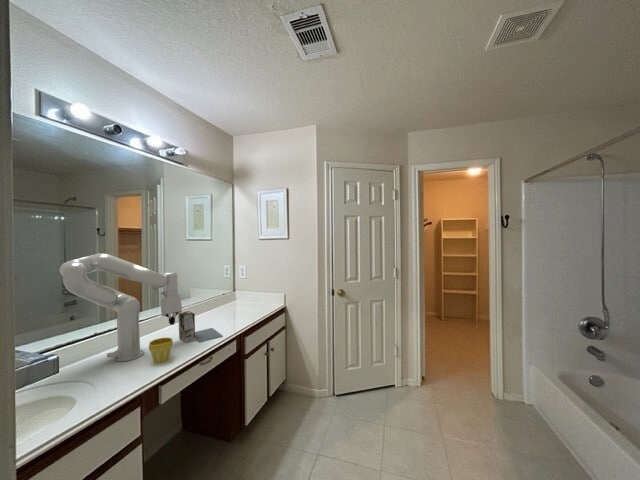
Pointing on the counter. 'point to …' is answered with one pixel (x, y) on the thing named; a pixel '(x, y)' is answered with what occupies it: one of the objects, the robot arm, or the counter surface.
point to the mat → (207, 335)
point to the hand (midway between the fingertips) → (172, 324)
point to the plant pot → (160, 349)
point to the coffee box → (186, 326)
